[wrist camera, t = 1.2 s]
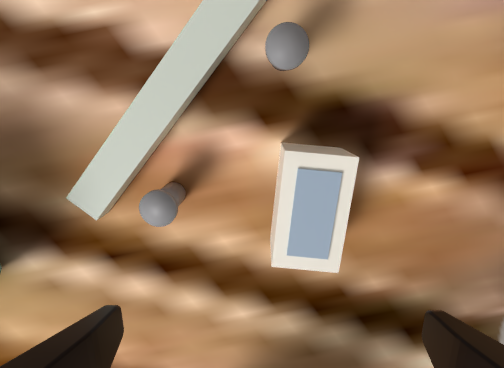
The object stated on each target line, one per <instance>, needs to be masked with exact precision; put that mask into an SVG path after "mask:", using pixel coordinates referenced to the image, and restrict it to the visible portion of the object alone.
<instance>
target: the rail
mask: <svg viewBox="0 0 504 368" xmlns="http://www.w3.org/2000/svg"><path fill="white" fill-rule="evenodd" d="M266 1H267V0H203V1H202V3H201V4H200V5H199V7H198V8H197V10H196V11H195V13H194V14H193V16H192V17H191V18H190V20H189V21H188V23H187V24H186V26H185V27H184V28H183V30H182V31H181V33H180V34H179V36H178V37H177V39H176V40H175V41H174V43H173V44H172V46H171V47H170V49H169V50H168V52H167V53H166V54H165V56H164V57H163V59H162V60H161V62H160V63H159V65H158V66H157V67H156V69H155V70H154V72H153V73H152V75H151V76H150V78H149V79H148V80H147V82H146V83H145V85H144V86H143V88H142V89H141V91H140V92H139V93H138V95H137V96H136V98H135V99H134V101H133V102H132V103H131V105H130V106H129V108H128V109H127V111H126V112H125V114H124V115H123V116H122V118H121V119H120V121H119V122H118V124H117V125H116V127H115V128H114V129H113V131H112V132H111V134H110V135H109V137H108V138H107V140H106V141H105V142H104V144H103V145H102V147H101V148H100V150H99V151H98V153H97V154H96V155H95V157H94V158H93V160H92V161H91V163H90V164H89V165H88V167H87V168H86V170H85V171H84V173H83V174H82V176H81V177H80V178H79V180H78V181H77V183H76V184H75V186H74V187H73V189H72V190H71V191H70V193H69V194H68V196H67V197H66V199H68V200H69V201H71V202H72V203H73V204H75V205H76V206H77V207H79V208H80V209H82V210H83V211H84V212H86V213H87V214H88V215H90V216H91V217H93V218H94V219H95V220H98V219H99V218H101V217H102V216H104V215H105V214H107V213H108V212H109V211H110V210H111V208H112V207H113V206H114V204H115V203H116V202H117V200H118V199H119V198H120V196H121V195H122V194H123V192H124V191H125V190H126V188H127V187H128V186H129V184H130V183H131V182H132V180H133V179H134V178H135V176H136V175H137V174H138V172H139V171H140V169H141V168H142V167H143V165H144V164H145V163H146V161H147V160H148V159H149V157H150V156H151V155H152V153H153V152H154V151H155V149H156V148H157V147H158V145H159V144H160V143H161V141H162V140H163V139H164V137H165V136H166V135H167V133H168V132H169V131H170V129H171V128H172V127H173V125H174V124H175V123H176V121H177V120H178V119H179V117H180V116H181V115H182V113H183V112H184V111H185V109H186V108H187V107H188V105H189V104H190V103H191V101H192V100H193V98H194V97H195V96H196V94H197V93H198V92H199V90H200V89H201V88H202V86H203V85H204V84H205V82H206V81H207V80H208V78H209V77H210V76H211V74H212V73H213V72H214V70H215V69H216V68H217V66H218V65H219V64H220V62H221V61H222V60H223V58H224V57H225V56H226V54H227V53H228V52H229V50H230V49H231V48H232V46H233V45H234V44H235V42H236V41H237V40H238V38H239V37H240V36H241V34H242V33H243V32H244V30H245V29H246V28H247V26H248V25H249V23H250V22H251V21H252V19H253V18H254V17H255V15H256V14H257V13H258V11H259V10H260V9H261V7H262V6H263V5H264V3H265V2H266ZM308 50H309V39H308V36H307V34H306V32H305V31H304V29H303V28H302V27H301V26H299V25H298V24H295V23H292V22H285V23H281V24H279V25H277V26H275V27H274V28H273V29H272V30H271V31H270V33H269V35H268V37H267V40H266V55H267V58H268V60H269V61H270V63H271V64H272V66H273V67H274V68H275V69H277V70H280V71H286V70H291V69H294V68H296V67H298V66H299V65H300V64H301V63H302V62H303V61H304V59H305V58H306V56H307V54H308ZM185 196H186V192H185V189H184V187H183V186H182V185H181V184H179V183H176V182H171V183H168V184H167V185H165V186H164V187H163V188H162V189H160V190H153V191H150V192H149V193H147V194H146V195H145V196H144V197H143V198H142V199H141V201H140V204H139V211H140V214H141V216H142V218H143V219H144V220H145V221H146V222H147V223H148V224H150V225H153V226H156V227H162V226H166V225H168V224H170V223H171V222H172V221H173V220H174V218H175V217H176V215H177V213H178V206H179V205H180V204H181V203H182V201H183V200H184V199H185Z"/></svg>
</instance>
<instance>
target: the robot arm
mask: <svg viewBox="0 0 504 368" xmlns="http://www.w3.org/2000/svg"><path fill="white" fill-rule="evenodd" d="M123 332H124V327H123V320H122V312H121V308H120V307H119V306H118V305H106V306H103V307H102V308H100V309H98V310H96V311H95V312H93V313H91V314H90V315H88V316H86V317H84V318H83V319H81V320H79V321H78V322H76V323H74V324H72V325H71V326H69V327H67V328H66V329H64V330H62V331H60V332H59V333H57V334H55V335H54V336H52V337H50V338H48V339H47V340H45V341H43V342H42V343H40V344H38V345H36V346H35V347H33V348H31V349H30V350H28V351H26V352H24V353H23V354H21V355H19V356H18V357H16V358H14V359H12V360H11V361H9V362H7V363H6V364H4V365H2V366H0V368H111V365H112V363H113V360H114V357H115V355H116V352H117V350H118V347H119V345H120V342H121V340H122V337H123ZM422 340H423V343H424V346H425V348H426V350H427V353H428V355H429V357H430V359H431V362H432V364H433V366H434V368H504V345H503V344H501V343H499V342H498V341H496V340H494V339H492V338H491V337H489V336H487V335H485V334H483V333H482V332H480V331H478V330H476V329H474V328H473V327H471V326H469V325H467V324H465V323H464V322H462V321H460V320H458V319H456V318H455V317H453V316H451V315H449V314H448V313H446V312H444V311H441V310H428V311H427V312H426V313H425V317H424V323H423V329H422Z"/></svg>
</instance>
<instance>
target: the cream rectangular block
mask: <svg viewBox="0 0 504 368" xmlns="http://www.w3.org/2000/svg"><path fill="white" fill-rule="evenodd" d="M358 162H359V157H358V156H356V155H354V154H352V153H350V152H348V151H346V150H344V149H342V148H338V147H327V146H316V145H305V144H294V143H283V142H281V146H280V155H279V164H278V173H277V182H276V191H275V200H274V209H273V218H272V227H271V236H270V245H271V266H272V267H281V268H291V269H302V270H312V271H322V272H332V273H338V272H339V267H340V261H341V256H342V250H343V245H344V239H345V234H346V228H347V223H348V217H349V212H350V206H351V201H352V195H353V189H354V184H355V178H356V173H357V167H358Z"/></svg>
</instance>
